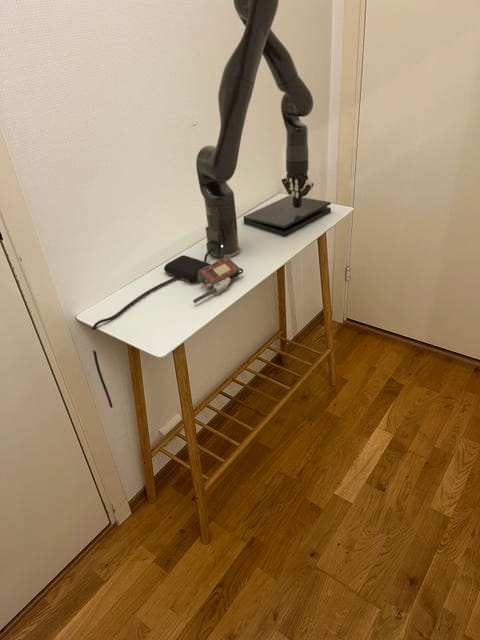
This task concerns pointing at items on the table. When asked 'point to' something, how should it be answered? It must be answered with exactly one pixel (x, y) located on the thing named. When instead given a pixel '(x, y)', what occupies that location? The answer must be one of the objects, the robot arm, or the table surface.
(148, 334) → the table surface
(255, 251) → the table surface
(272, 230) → the laptop
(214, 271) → the grey red handheld meter
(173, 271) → the carrying case
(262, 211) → the laptop screen
